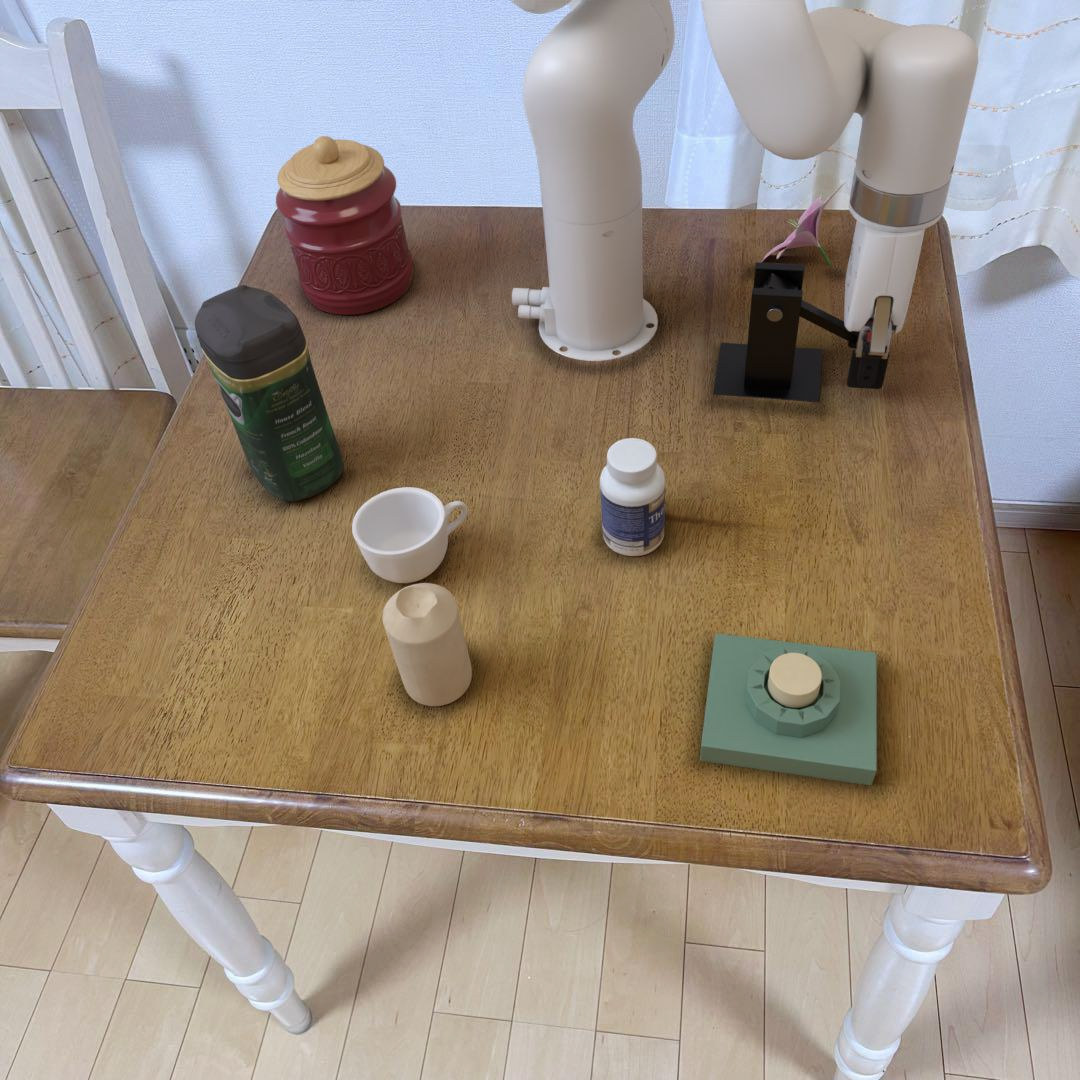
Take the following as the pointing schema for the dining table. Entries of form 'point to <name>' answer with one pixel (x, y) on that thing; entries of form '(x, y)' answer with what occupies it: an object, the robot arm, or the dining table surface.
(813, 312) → the lever
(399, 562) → the teacup
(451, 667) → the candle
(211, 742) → the dining table surface
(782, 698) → the button
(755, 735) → the button box
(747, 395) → the bracket
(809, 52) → the robot arm
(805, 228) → the lily
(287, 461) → the coffee jar
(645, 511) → the pill bottle
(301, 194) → the kitchen canister
